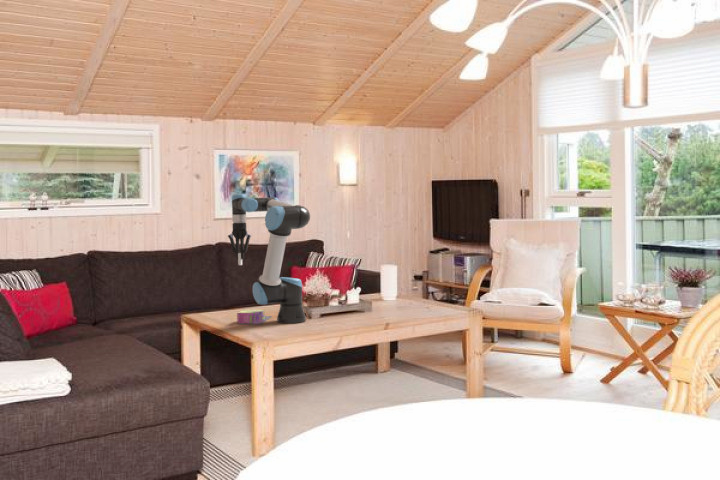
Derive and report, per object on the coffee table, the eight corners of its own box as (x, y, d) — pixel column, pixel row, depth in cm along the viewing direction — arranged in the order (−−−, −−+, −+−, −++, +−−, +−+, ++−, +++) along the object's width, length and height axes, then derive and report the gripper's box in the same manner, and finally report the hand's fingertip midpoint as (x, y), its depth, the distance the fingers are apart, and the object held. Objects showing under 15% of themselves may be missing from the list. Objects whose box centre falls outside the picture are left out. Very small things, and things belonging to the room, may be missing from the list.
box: (237, 323, 382) (259, 323, 381) (236, 312, 382) (258, 312, 380) (243, 320, 393) (264, 320, 391) (243, 309, 392) (264, 309, 390)
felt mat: (271, 316, 404) (271, 316, 404) (259, 324, 380) (259, 323, 380) (252, 316, 405) (252, 315, 405) (239, 324, 382) (239, 323, 382)
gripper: (252, 221, 407) (253, 264, 409) (230, 222, 409) (231, 264, 411) (248, 222, 400) (249, 265, 402) (225, 222, 402) (226, 265, 404)
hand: (240, 264), depth 406 cm, fingers closed
